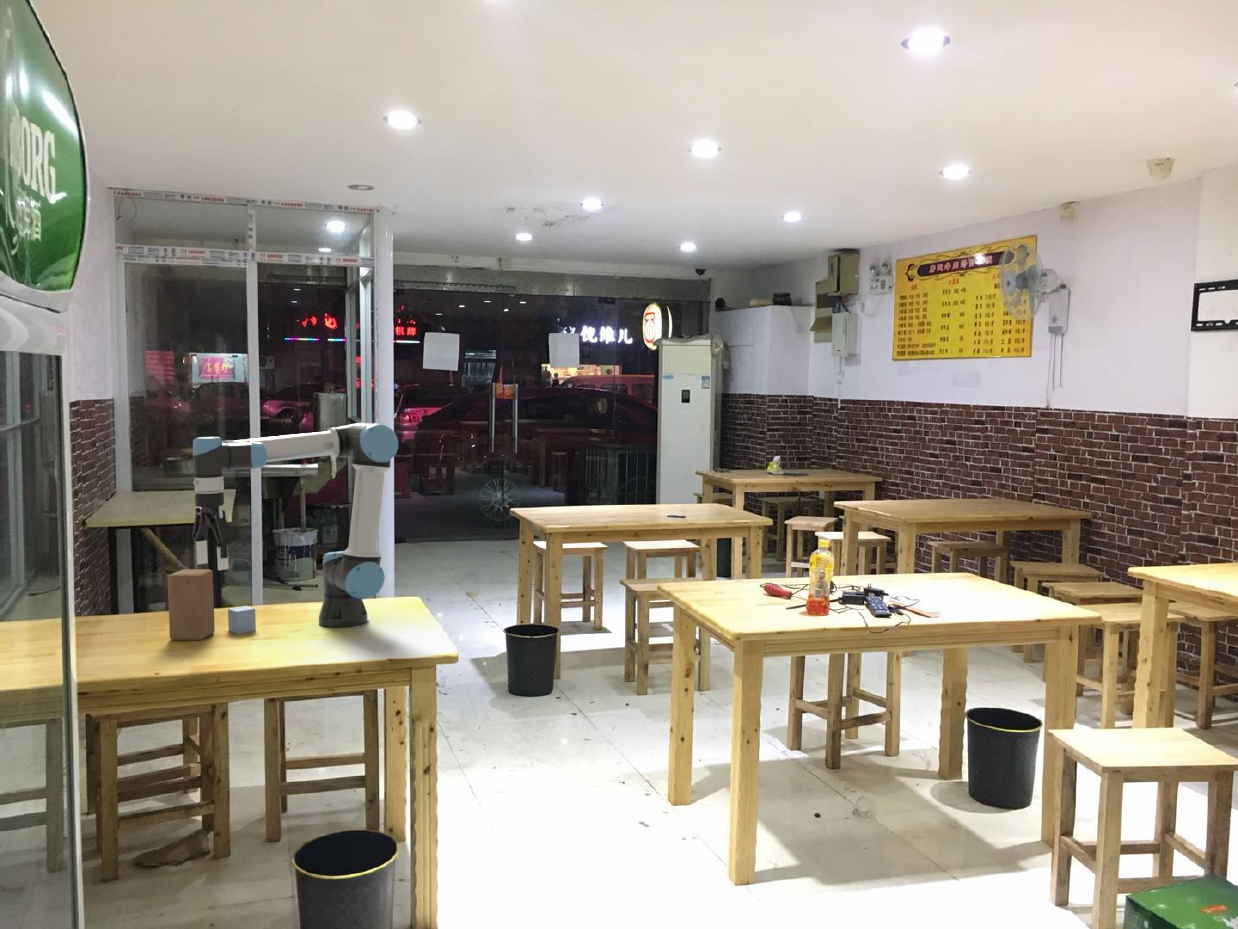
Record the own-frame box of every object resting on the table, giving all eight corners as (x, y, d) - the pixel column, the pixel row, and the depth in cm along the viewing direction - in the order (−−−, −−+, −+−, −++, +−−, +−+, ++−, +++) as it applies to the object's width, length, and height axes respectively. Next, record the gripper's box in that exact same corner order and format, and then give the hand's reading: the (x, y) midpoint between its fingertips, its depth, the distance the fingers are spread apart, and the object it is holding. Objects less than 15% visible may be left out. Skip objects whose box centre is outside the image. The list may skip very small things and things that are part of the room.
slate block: (247, 627, 307) (246, 605, 307) (255, 630, 303) (255, 608, 303) (228, 630, 303) (228, 608, 303) (236, 634, 299) (236, 611, 298)
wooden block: (201, 641, 290) (199, 574, 289) (168, 641, 291) (166, 574, 289) (216, 632, 300) (213, 568, 299) (183, 632, 301) (181, 568, 299)
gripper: (177, 490, 280) (181, 563, 281) (215, 496, 262) (218, 574, 264) (203, 487, 285) (207, 559, 287) (242, 493, 268) (245, 570, 270)
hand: (212, 566), depth 275 cm, fingers open, 13 cm apart
